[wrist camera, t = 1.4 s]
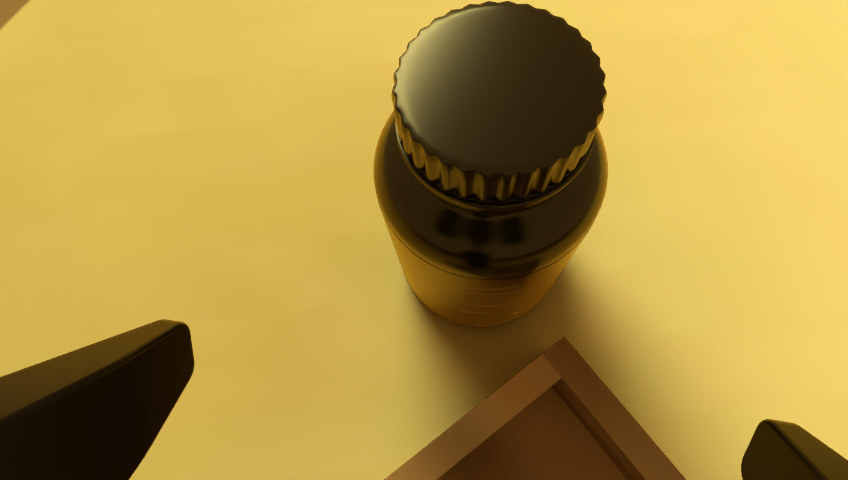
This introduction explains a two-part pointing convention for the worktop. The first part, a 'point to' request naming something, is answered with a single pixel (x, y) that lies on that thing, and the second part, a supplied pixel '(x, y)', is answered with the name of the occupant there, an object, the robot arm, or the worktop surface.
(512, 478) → the walnut tray
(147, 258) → the worktop surface
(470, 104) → the supplement bottle
